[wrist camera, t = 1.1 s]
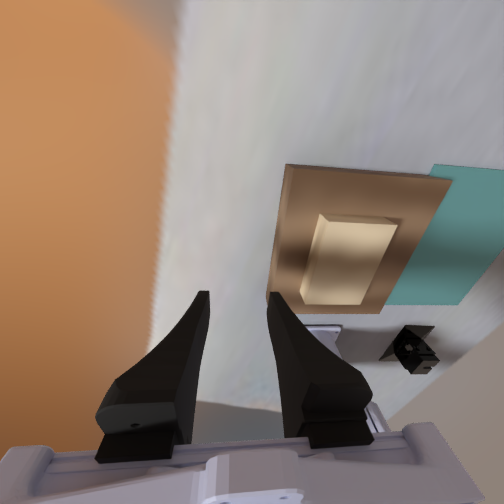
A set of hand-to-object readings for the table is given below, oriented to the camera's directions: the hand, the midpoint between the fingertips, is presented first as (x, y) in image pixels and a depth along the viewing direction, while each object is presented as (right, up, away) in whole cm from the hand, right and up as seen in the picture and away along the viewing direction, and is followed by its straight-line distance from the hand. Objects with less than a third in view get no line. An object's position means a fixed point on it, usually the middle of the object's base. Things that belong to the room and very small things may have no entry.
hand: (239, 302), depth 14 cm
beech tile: (+10, +3, +7) cm, 12 cm away
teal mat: (+25, +4, +11) cm, 27 cm away
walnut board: (+10, +4, +9) cm, 14 cm away
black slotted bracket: (+27, -12, +21) cm, 36 cm away
